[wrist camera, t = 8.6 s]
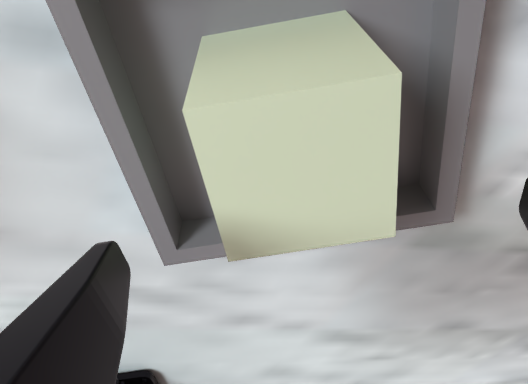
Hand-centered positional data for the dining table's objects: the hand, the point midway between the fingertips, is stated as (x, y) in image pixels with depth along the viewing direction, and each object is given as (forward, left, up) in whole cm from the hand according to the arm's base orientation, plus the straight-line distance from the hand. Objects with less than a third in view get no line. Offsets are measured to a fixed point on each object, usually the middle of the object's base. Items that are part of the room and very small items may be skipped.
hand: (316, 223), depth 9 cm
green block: (0, 0, -8) cm, 8 cm away
